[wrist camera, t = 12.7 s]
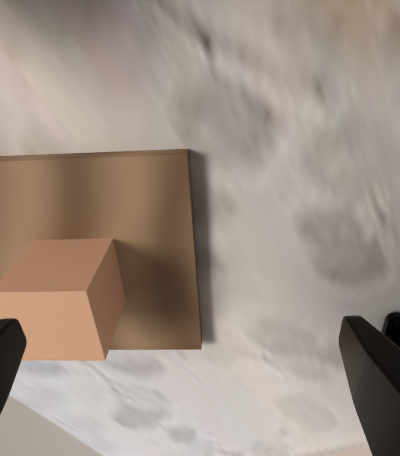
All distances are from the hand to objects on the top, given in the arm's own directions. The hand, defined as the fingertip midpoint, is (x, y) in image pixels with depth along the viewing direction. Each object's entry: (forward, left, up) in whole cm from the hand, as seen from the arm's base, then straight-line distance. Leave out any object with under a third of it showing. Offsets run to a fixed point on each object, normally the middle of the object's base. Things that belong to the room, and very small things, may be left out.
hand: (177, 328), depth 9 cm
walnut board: (+8, +6, -12) cm, 16 cm away
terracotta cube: (+8, +6, -11) cm, 15 cm away
